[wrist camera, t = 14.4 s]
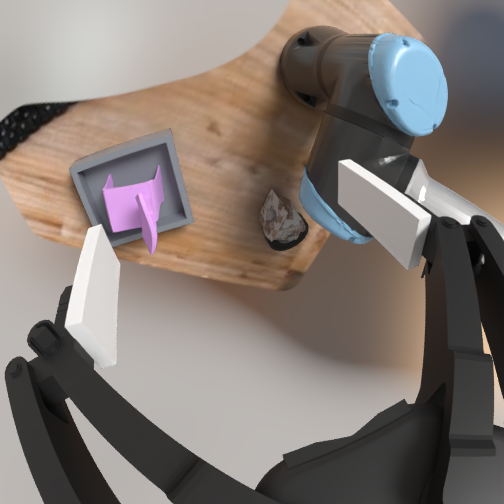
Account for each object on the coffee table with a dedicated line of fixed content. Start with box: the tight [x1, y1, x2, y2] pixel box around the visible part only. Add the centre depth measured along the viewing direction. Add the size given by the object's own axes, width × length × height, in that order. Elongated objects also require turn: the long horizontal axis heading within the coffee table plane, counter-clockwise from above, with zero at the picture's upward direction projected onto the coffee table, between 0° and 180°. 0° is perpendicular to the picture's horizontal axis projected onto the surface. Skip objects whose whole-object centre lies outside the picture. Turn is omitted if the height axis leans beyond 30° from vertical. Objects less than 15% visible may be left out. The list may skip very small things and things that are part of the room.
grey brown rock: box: [258, 189, 309, 251], centre depth 55 cm, size 7×11×10 cm
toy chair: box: [102, 165, 165, 255], centre depth 38 cm, size 8×9×15 cm
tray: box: [69, 128, 194, 247], centre depth 43 cm, size 16×15×4 cm
